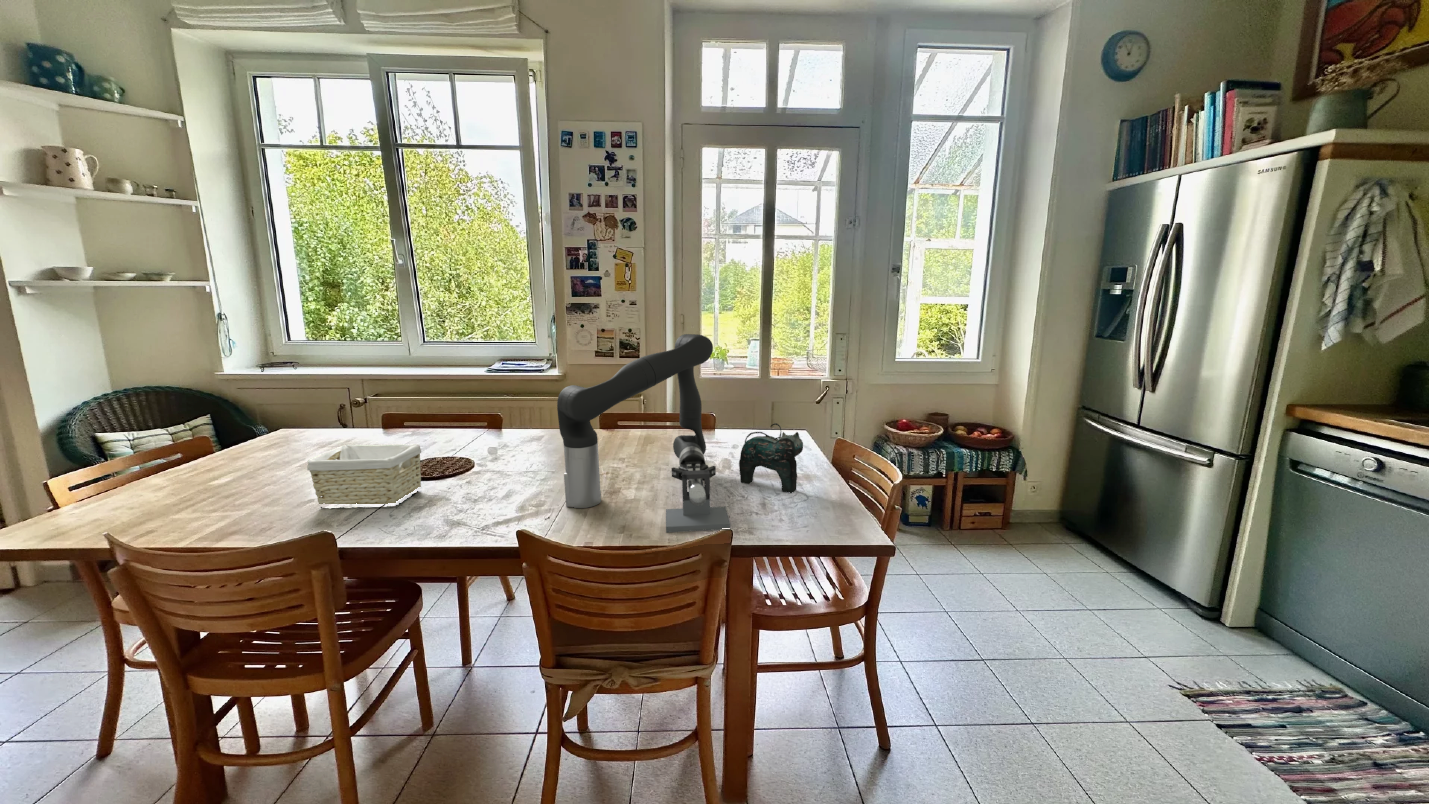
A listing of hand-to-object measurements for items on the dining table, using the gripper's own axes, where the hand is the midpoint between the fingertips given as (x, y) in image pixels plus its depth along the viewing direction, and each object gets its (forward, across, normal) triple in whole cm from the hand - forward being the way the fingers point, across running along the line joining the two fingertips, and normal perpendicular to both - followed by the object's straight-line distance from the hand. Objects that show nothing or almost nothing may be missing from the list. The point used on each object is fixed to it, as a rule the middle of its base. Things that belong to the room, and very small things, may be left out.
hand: (695, 482), depth 142 cm
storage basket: (-22, -93, +9) cm, 96 cm away
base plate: (+5, 0, +9) cm, 10 cm away
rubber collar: (+2, 0, +4) cm, 4 cm away
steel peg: (+5, 0, +2) cm, 6 cm away
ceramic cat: (-18, +23, +9) cm, 31 cm away
